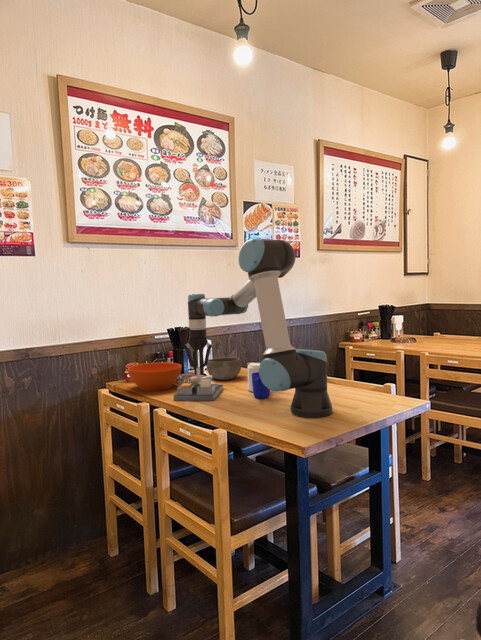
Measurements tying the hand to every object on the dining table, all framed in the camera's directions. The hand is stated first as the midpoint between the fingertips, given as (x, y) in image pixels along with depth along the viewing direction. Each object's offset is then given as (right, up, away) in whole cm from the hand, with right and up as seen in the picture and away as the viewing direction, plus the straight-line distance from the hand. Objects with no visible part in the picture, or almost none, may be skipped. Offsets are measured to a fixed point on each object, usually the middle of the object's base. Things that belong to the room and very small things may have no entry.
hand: (199, 381), depth 203 cm
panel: (0, -5, -1) cm, 5 cm away
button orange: (-5, -4, -7) cm, 9 cm away
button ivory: (+4, -1, -9) cm, 9 cm away
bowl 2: (+10, -3, +33) cm, 34 cm away
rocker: (+1, +1, +6) cm, 7 cm away
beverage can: (+26, -5, +3) cm, 26 cm away
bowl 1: (-22, -5, +15) cm, 27 cm away
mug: (+26, -6, -11) cm, 29 cm away
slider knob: (-2, -3, 0) cm, 4 cm away
